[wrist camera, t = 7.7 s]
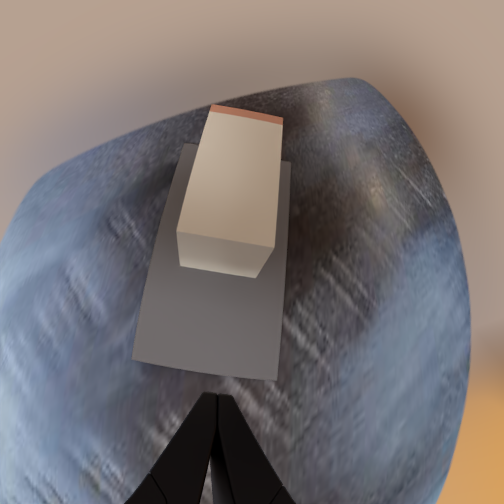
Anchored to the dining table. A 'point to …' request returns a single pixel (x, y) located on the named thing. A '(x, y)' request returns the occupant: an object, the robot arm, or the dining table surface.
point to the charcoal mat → (212, 300)
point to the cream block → (232, 194)
